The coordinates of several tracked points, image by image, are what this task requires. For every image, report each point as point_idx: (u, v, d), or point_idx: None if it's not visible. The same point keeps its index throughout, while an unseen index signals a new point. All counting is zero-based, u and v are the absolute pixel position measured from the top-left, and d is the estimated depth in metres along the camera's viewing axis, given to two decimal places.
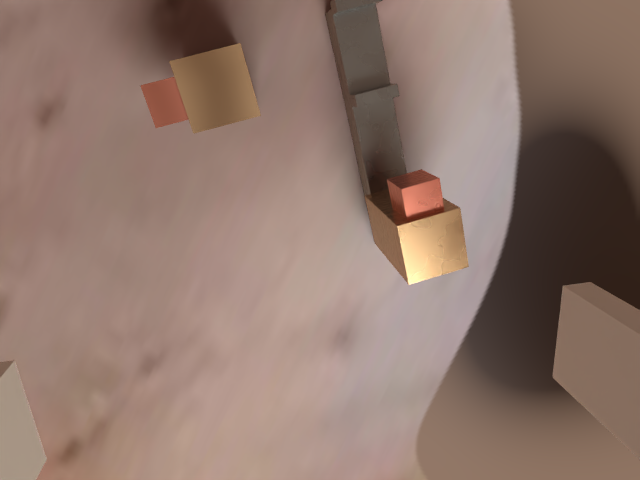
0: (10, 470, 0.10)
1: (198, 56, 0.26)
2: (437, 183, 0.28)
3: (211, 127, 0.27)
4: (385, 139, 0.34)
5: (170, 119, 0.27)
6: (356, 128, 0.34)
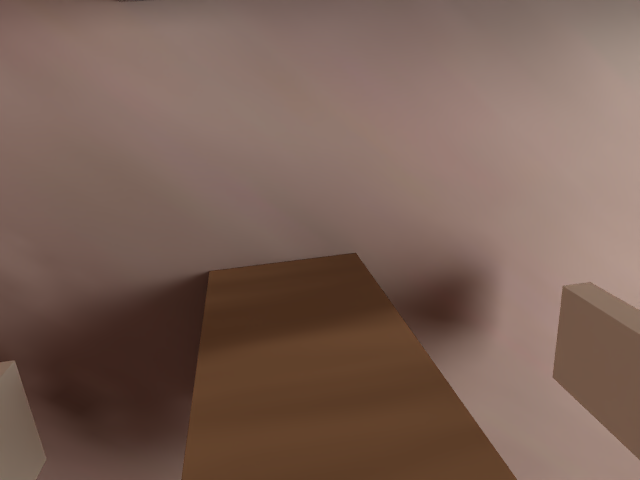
0: (10, 470, 0.10)
1: None
2: None
3: None
4: None
5: None
6: None
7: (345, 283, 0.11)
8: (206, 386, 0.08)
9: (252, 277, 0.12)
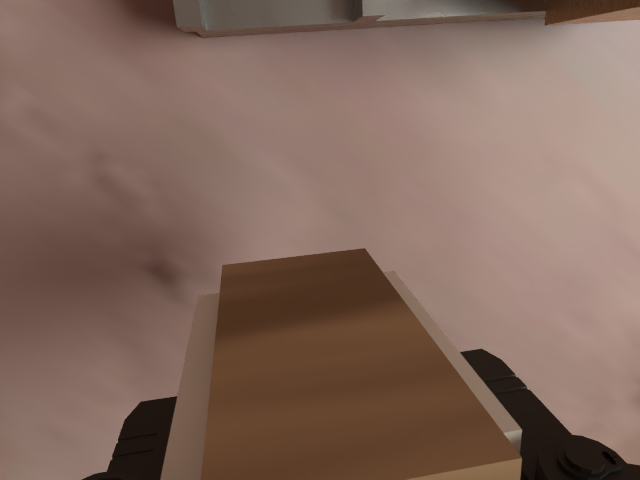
0: None
1: None
2: None
3: None
4: None
5: None
6: (416, 18, 0.17)
7: (355, 277, 0.12)
8: (223, 371, 0.08)
9: (264, 271, 0.12)
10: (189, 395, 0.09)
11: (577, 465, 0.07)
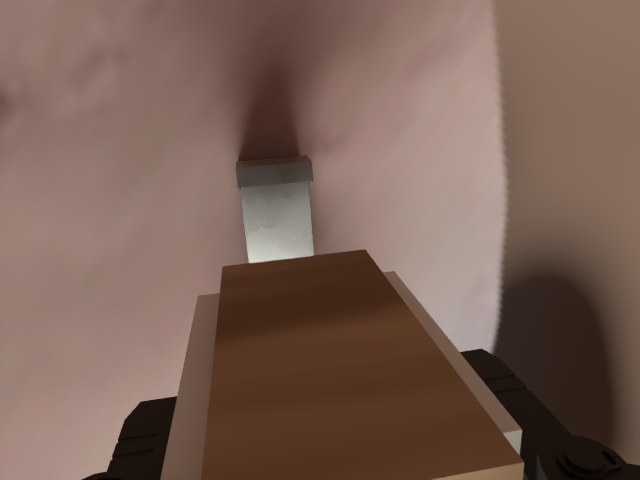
0: None
1: None
2: None
3: None
4: None
5: None
6: None
7: (355, 278, 0.11)
8: (223, 373, 0.08)
9: (264, 272, 0.12)
10: (189, 395, 0.09)
11: (577, 465, 0.07)
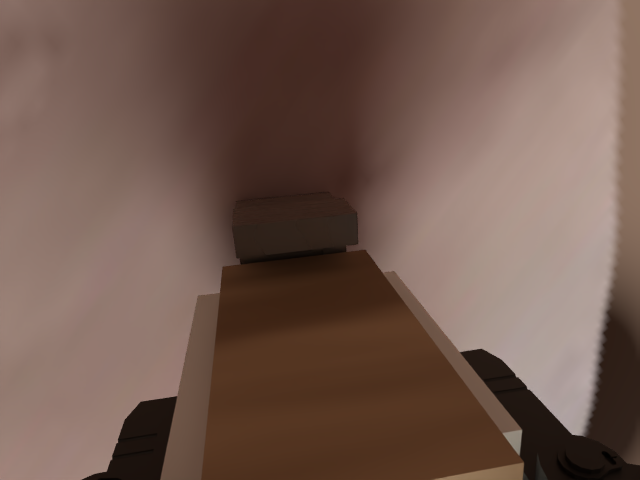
0: None
1: None
2: None
3: None
4: None
5: None
6: None
7: (355, 278, 0.11)
8: (223, 374, 0.08)
9: (264, 272, 0.12)
10: (189, 395, 0.09)
11: (577, 465, 0.07)
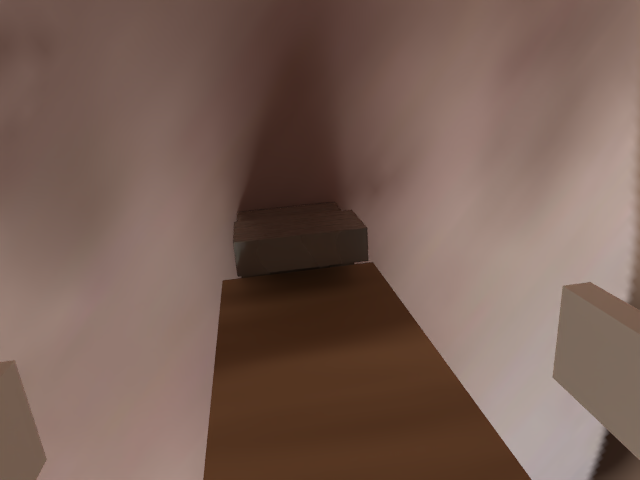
0: (10, 470, 0.10)
1: None
2: None
3: None
4: None
5: None
6: None
7: (363, 295, 0.11)
8: (223, 407, 0.07)
9: (267, 287, 0.12)
10: None
11: None
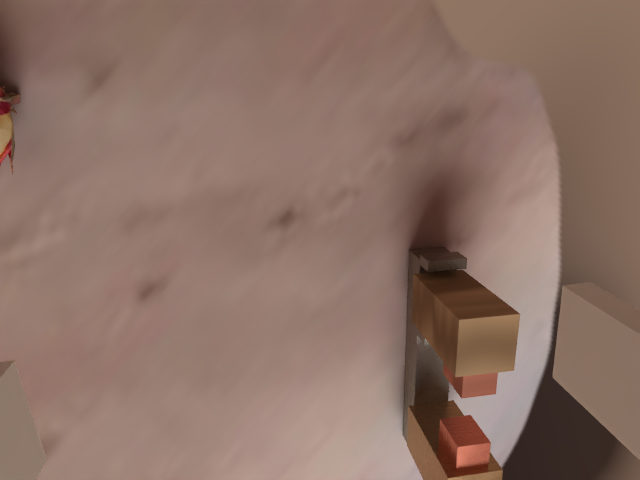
0: (10, 470, 0.10)
1: (458, 354, 0.29)
2: (487, 446, 0.32)
3: (514, 355, 0.30)
4: (438, 364, 0.39)
5: (493, 382, 0.31)
6: (415, 351, 0.38)
7: (464, 279, 0.35)
8: (443, 300, 0.31)
9: (431, 276, 0.36)
10: None
11: None
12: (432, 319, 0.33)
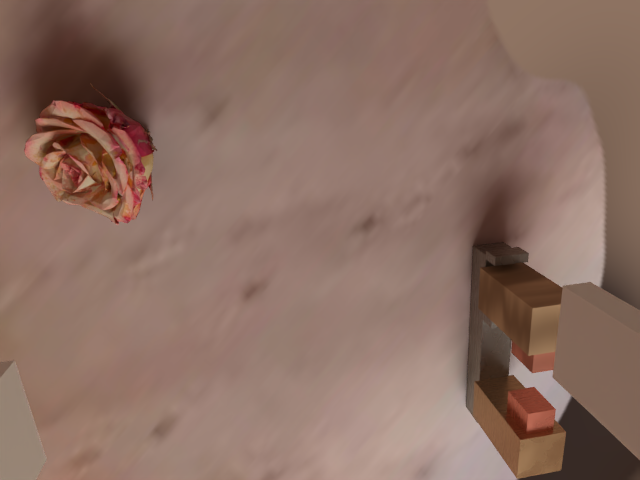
0: (10, 470, 0.10)
1: (531, 337, 0.35)
2: (553, 412, 0.38)
3: None
4: (500, 344, 0.45)
5: None
6: (480, 334, 0.44)
7: (526, 271, 0.40)
8: (514, 291, 0.37)
9: (496, 269, 0.41)
10: None
11: None
12: (502, 307, 0.38)
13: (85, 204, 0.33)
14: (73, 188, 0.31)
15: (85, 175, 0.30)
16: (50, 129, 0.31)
